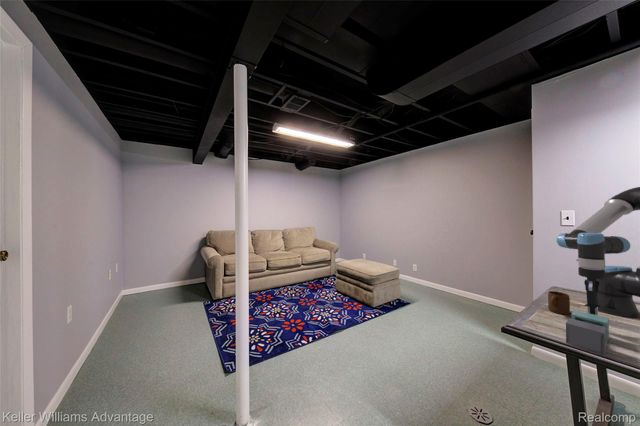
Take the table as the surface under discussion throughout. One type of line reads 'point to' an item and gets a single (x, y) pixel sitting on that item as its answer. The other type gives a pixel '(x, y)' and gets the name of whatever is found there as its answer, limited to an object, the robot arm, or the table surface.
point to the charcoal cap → (586, 335)
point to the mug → (559, 302)
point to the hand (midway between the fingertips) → (593, 321)
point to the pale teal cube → (592, 320)
